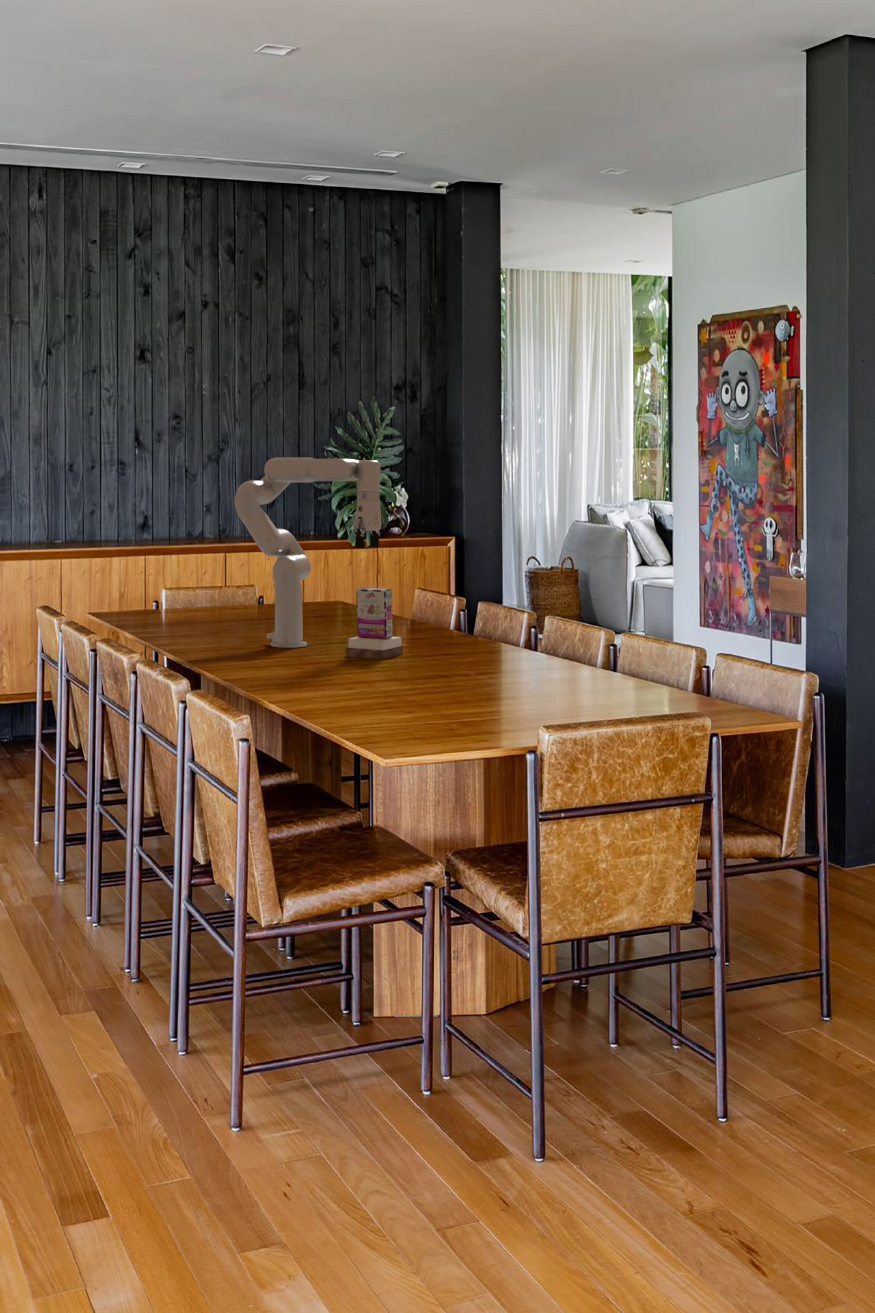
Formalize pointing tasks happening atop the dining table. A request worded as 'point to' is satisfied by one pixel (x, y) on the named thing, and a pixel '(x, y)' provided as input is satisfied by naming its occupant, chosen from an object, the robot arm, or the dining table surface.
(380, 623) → the candy bar box
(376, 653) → the walnut base block
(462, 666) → the dining table surface
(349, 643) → the cream top block
